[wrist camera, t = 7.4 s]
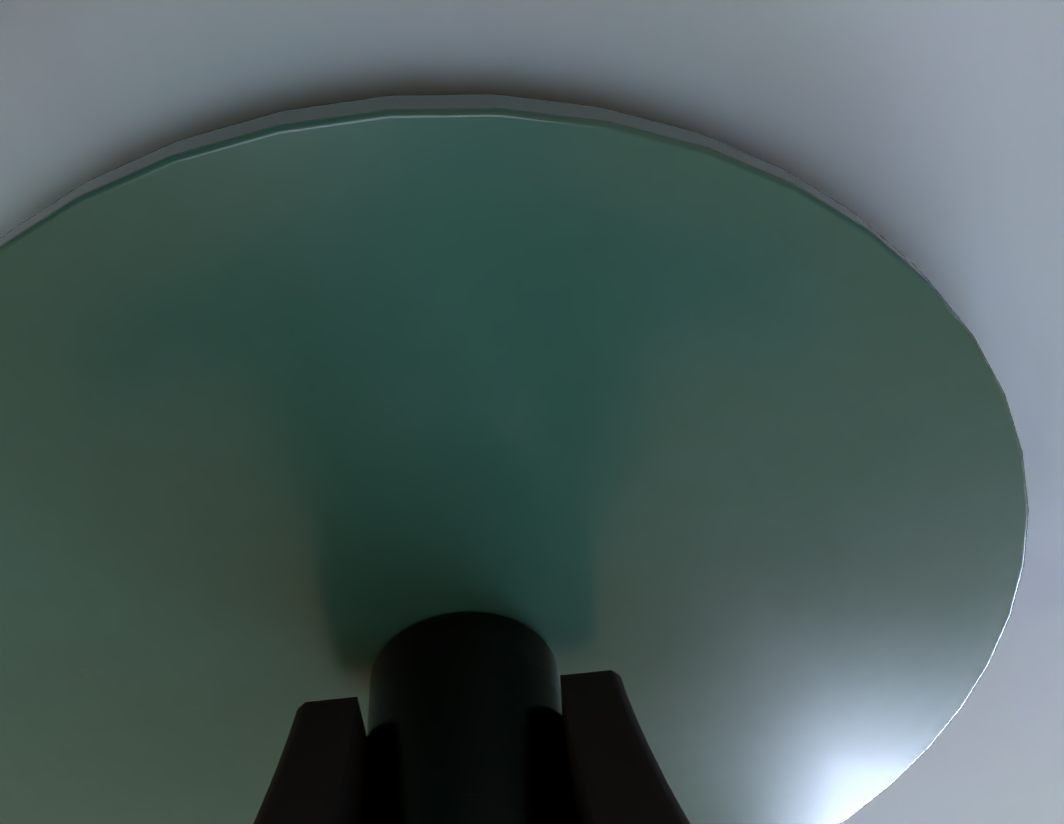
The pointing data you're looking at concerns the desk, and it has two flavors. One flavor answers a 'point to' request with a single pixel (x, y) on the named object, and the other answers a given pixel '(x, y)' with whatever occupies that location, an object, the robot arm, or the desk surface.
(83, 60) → the desk surface
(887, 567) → the tin lid
